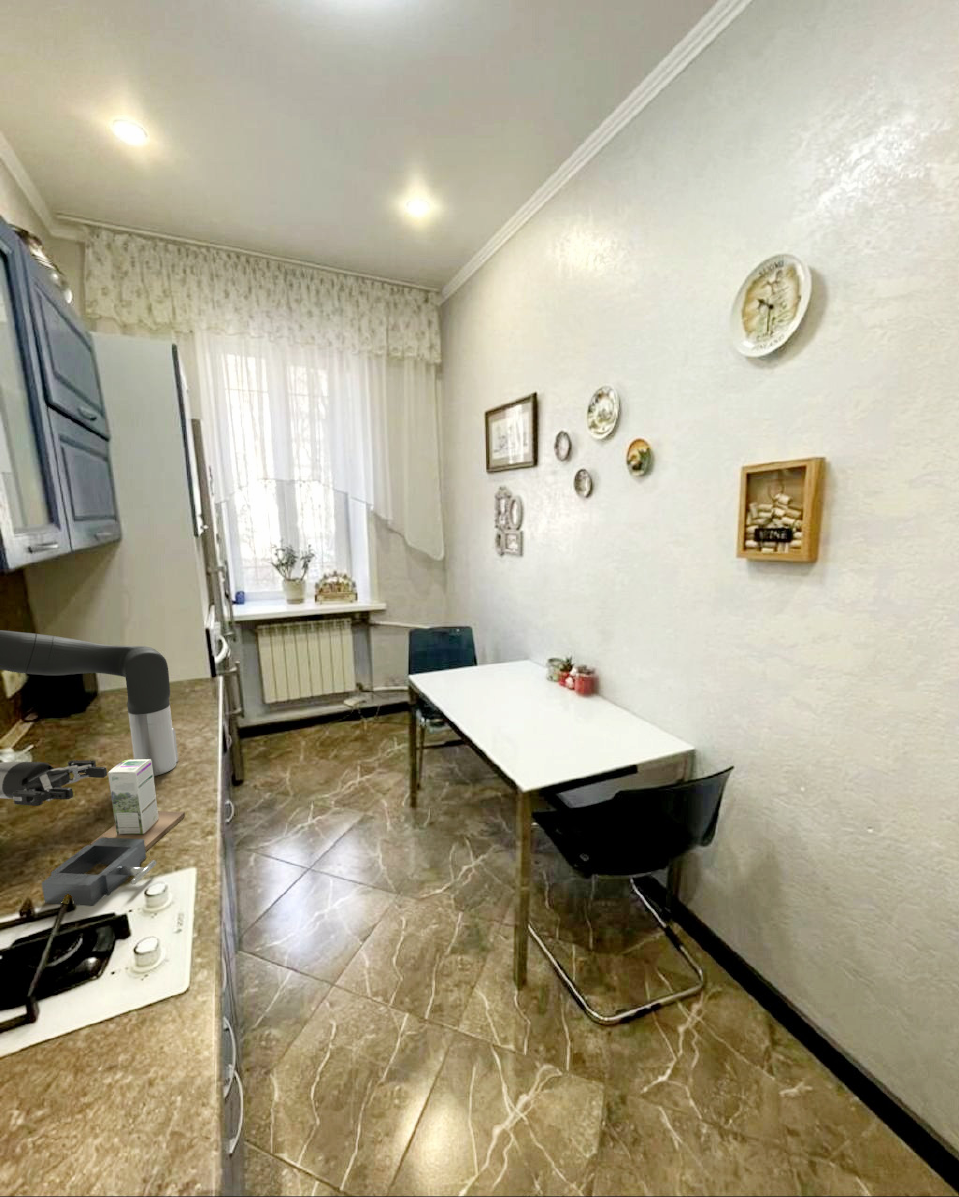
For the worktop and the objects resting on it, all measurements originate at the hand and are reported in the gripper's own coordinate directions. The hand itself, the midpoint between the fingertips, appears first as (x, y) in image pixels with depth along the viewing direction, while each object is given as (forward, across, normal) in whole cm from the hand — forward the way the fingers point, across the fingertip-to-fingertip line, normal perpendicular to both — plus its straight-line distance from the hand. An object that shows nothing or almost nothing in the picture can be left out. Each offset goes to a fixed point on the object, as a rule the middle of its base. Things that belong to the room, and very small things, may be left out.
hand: (89, 782), depth 106 cm
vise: (+15, -14, +11) cm, 24 cm away
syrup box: (+10, 0, +10) cm, 14 cm away
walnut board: (+10, 0, +11) cm, 15 cm away
